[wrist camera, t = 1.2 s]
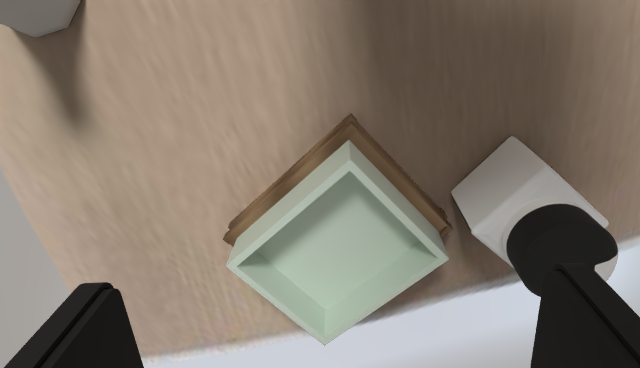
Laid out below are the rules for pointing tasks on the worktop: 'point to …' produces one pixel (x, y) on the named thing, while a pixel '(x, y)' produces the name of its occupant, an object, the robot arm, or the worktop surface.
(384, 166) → the brown wooden flat block
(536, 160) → the medicine bottle
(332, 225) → the sage crate
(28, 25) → the flask
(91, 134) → the worktop surface
